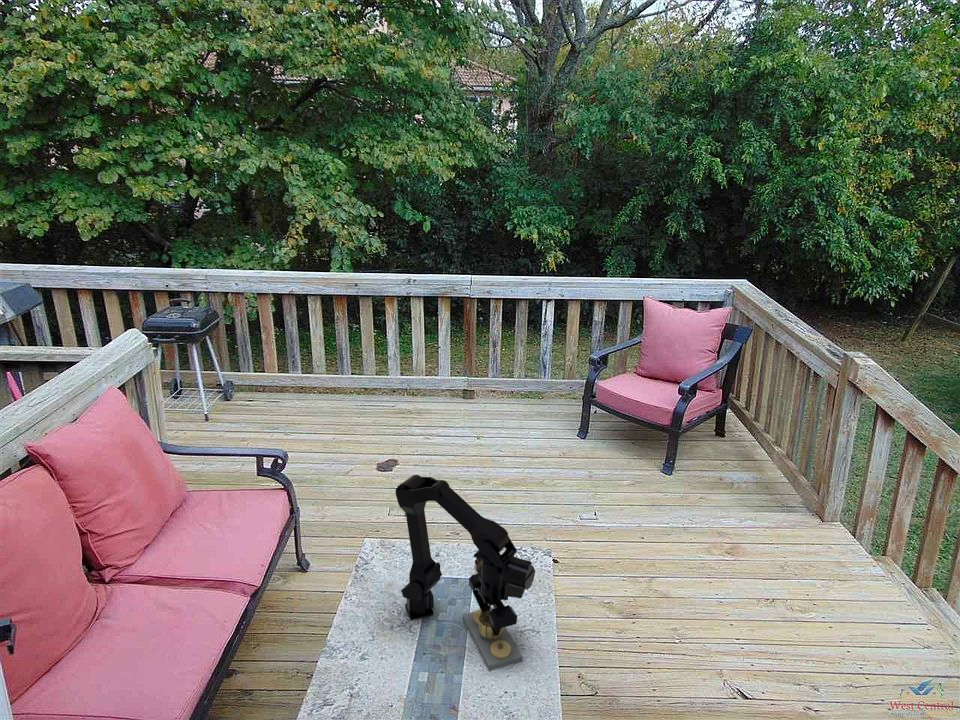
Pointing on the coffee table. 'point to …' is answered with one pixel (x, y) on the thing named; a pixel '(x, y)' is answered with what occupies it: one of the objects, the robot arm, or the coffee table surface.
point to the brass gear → (487, 626)
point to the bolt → (478, 565)
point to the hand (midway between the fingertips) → (491, 626)
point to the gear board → (492, 644)
